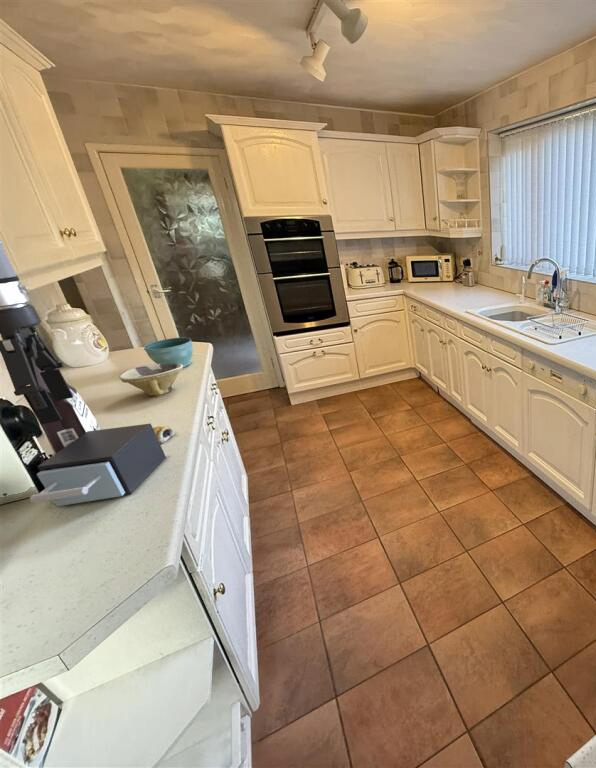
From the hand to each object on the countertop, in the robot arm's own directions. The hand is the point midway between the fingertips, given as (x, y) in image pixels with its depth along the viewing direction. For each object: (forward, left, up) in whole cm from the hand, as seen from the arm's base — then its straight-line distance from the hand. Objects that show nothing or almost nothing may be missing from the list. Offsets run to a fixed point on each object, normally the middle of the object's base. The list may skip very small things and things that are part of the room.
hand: (58, 409), depth 81 cm
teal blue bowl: (-31, +102, -25) cm, 110 cm away
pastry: (-5, +31, -25) cm, 40 cm away
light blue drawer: (-4, +6, -24) cm, 25 cm away
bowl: (-23, +71, -25) cm, 79 cm away
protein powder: (-21, +27, -25) cm, 42 cm away
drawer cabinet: (-5, +11, -25) cm, 27 cm away
